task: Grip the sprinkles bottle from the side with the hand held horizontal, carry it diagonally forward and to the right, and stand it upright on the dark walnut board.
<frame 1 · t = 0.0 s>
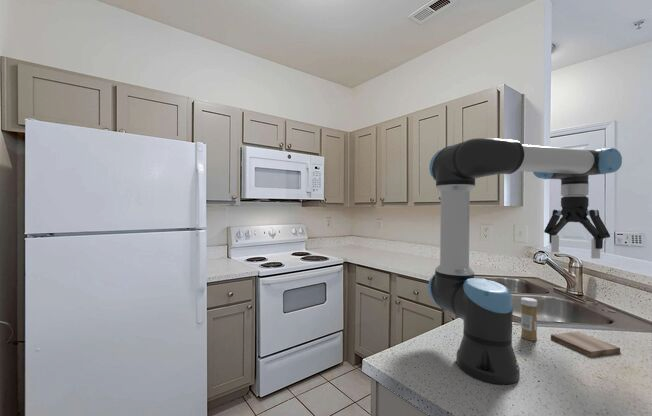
hand: (574, 255, 102), 28 cm above the countertop, tool pointing down, fingers open, 13 cm apart
walnut board: (583, 345, 92), on the countertop
sprinkles bottle: (528, 338, 97), on the countertop
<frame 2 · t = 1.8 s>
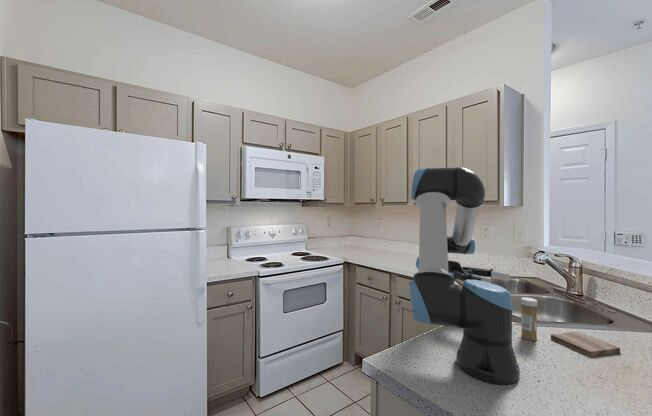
hand: (500, 279, 105), 18 cm above the countertop, tool horizontal, fingers open, 13 cm apart
nothing on the countertop moved.
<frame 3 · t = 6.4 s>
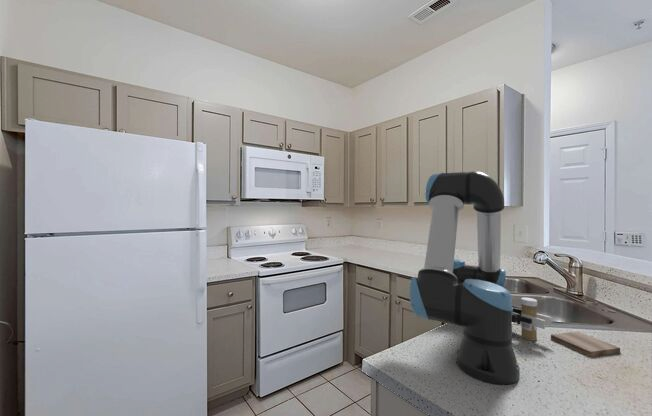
hand: (547, 323, 93), 7 cm above the countertop, tool horizontal, fingers closed on sprinkles bottle, 4 cm apart
sprinkles bottle: (528, 338, 97), on the countertop, touching gripper
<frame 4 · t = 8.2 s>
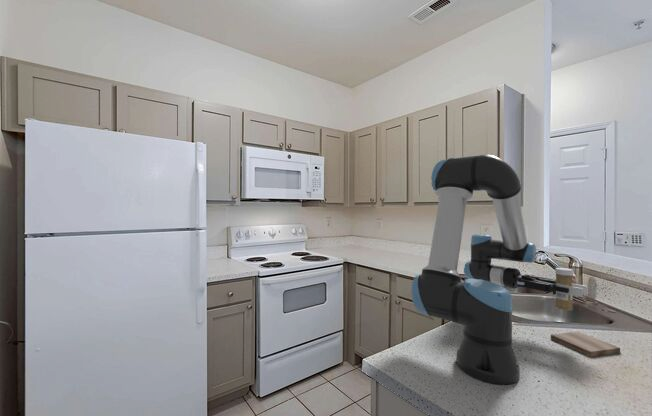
hand: (585, 291, 91), 18 cm above the countertop, tool horizontal, fingers closed on sprinkles bottle, 4 cm apart
sprinkles bottle: (563, 309, 95), point 11 cm above the countertop, touching gripper
when the fingers open (10 cm above the countertop, at t = 10.3 s): sprinkles bottle drops 1 cm, resting on walnut board.
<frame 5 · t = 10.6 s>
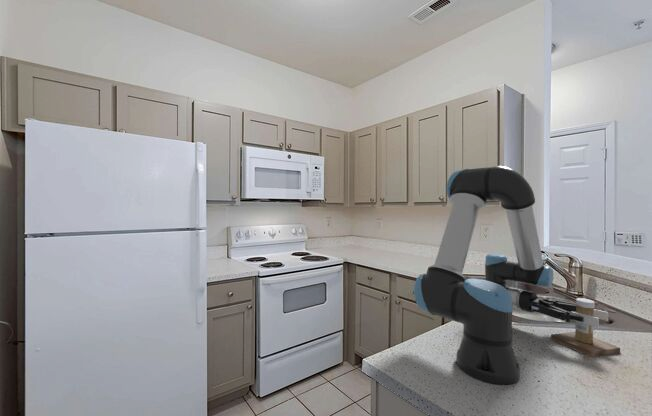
hand: (603, 319, 88), 10 cm above the countertop, tool horizontal, fingers open, 9 cm apart
sprinkles bottle: (583, 341, 92), point 1 cm above the countertop, touching walnut board
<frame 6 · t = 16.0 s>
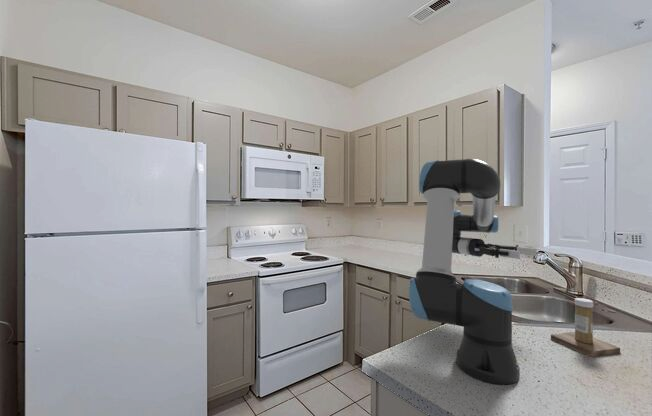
hand: (528, 253, 105), 28 cm above the countertop, tool horizontal, fingers open, 13 cm apart
nothing on the countertop moved.
at the end: sprinkles bottle inside the target area on the walnut board (0.1 cm from its centre), point 1.3 cm above the walnut board's base; sprinkles bottle tilted 0°; the gripper is holding nothing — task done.
